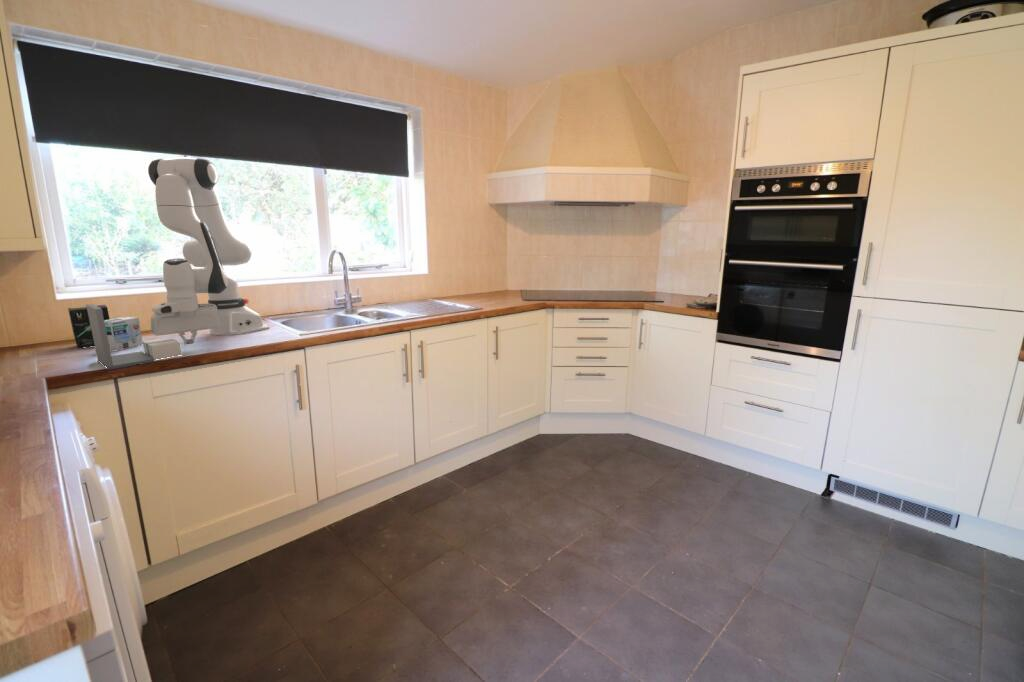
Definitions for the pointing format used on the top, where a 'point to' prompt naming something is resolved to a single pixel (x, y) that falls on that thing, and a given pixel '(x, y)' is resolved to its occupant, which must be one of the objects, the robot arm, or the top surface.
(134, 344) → the light bulb box
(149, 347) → the cream carton
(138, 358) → the display platform
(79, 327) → the tampon box
